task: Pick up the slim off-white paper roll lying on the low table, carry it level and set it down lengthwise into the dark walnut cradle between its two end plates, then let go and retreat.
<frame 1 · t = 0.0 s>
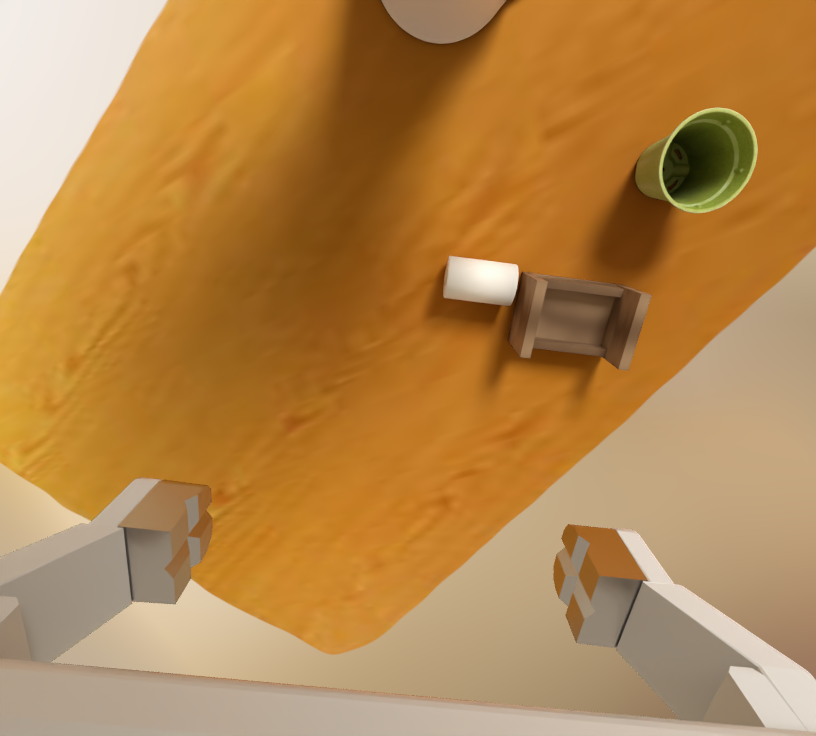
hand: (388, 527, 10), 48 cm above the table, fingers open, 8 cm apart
walnut cradle: (564, 313, 57), on the table
paper roll: (476, 278, 56), on the table
plant pot: (660, 169, 52), on the table
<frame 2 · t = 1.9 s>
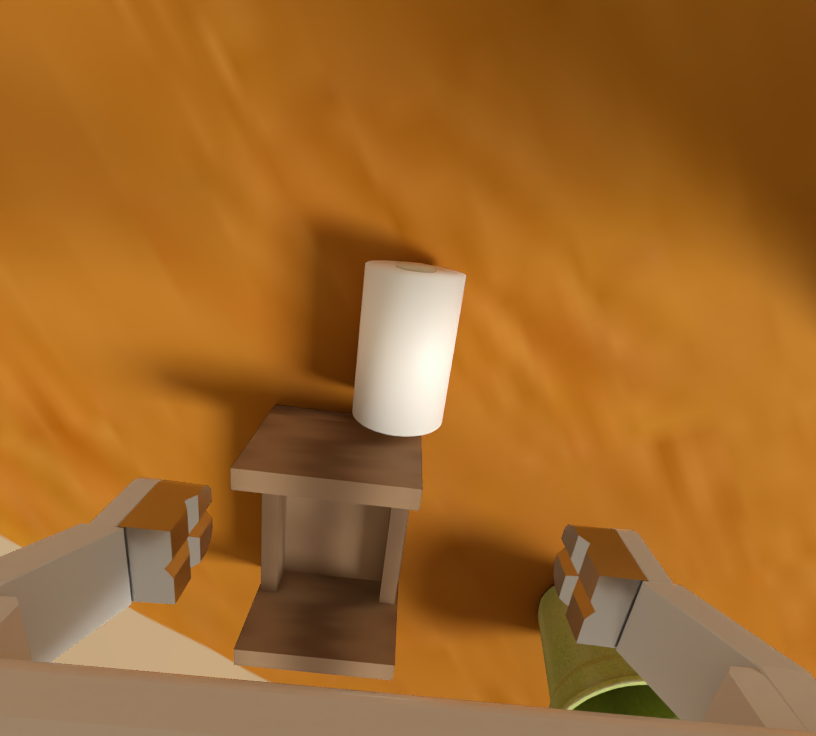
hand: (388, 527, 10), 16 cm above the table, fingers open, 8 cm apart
walnut cradle: (340, 500, 30), on the table
paper roll: (407, 332, 26), on the table
plant pot: (578, 604, 33), on the table
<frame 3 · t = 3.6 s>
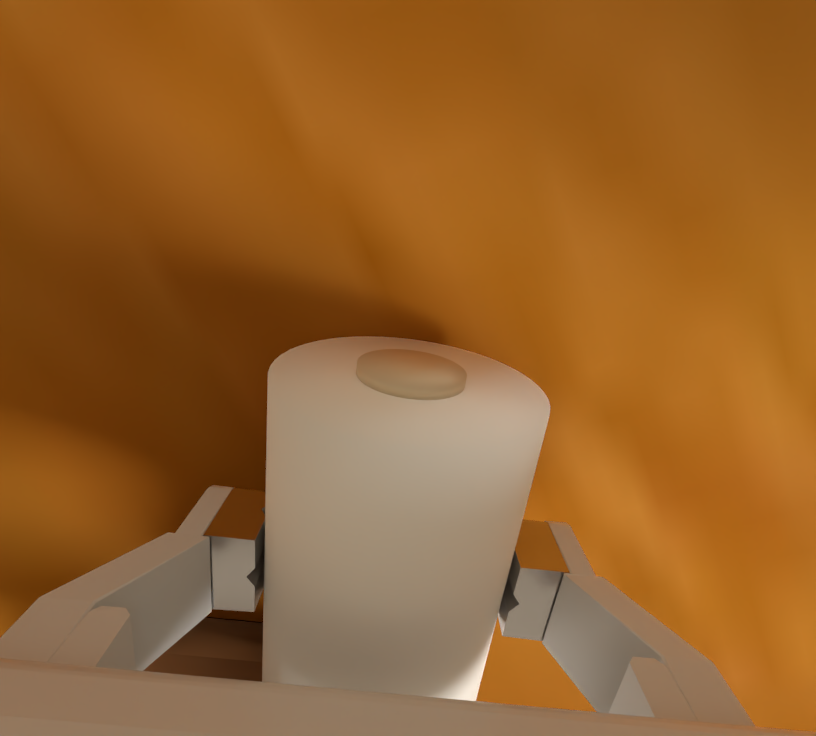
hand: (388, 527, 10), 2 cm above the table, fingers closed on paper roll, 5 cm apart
paper roll: (392, 482, 12), on the table, touching gripper
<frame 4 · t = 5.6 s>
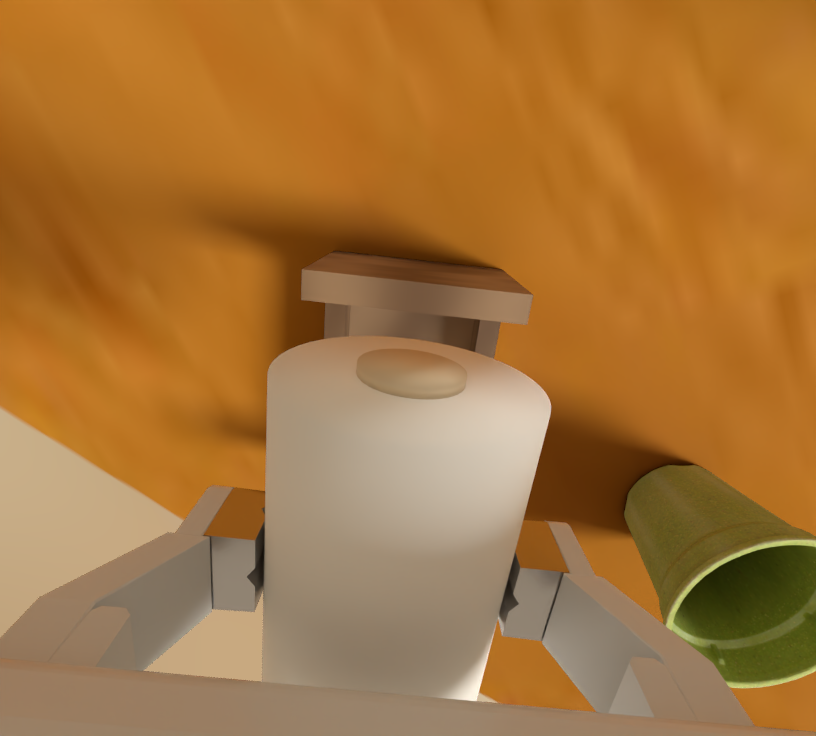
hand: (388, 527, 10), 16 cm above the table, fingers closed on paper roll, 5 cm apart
walnut cradle: (405, 372, 26), on the table
paper roll: (392, 482, 12), point 14 cm above the table, touching gripper
plant pot: (669, 500, 29), on the table
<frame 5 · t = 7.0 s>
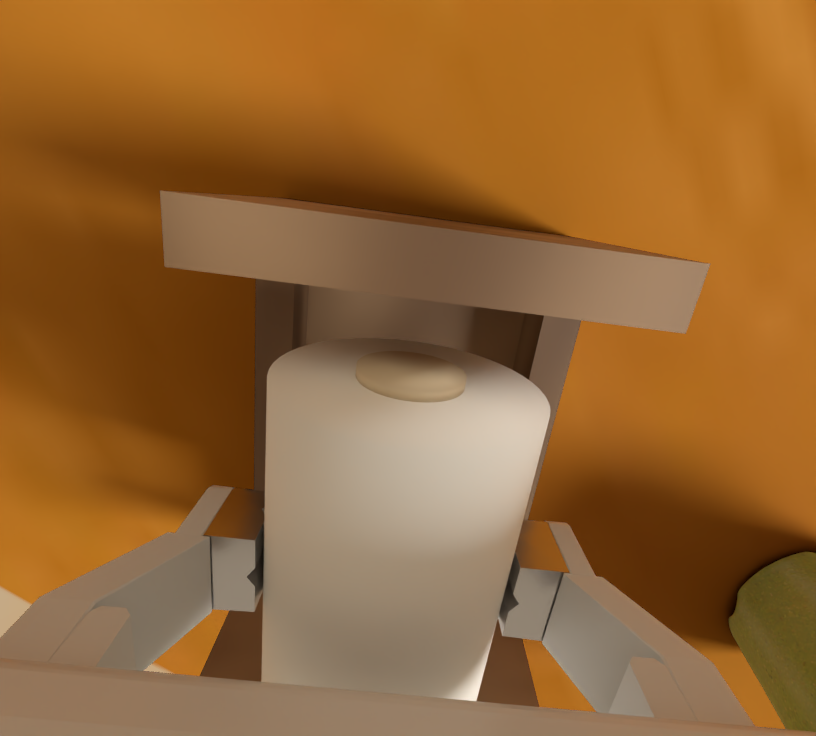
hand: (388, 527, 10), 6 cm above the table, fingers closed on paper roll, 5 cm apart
walnut cradle: (402, 406, 16), on the table
paper roll: (392, 484, 12), point 5 cm above the table, touching gripper
plant pot: (795, 599, 19), on the table
when the fingers open (4 cm above the table, at t = 7.7 s): paper roll drops 1 cm, resting on walnut cradle.
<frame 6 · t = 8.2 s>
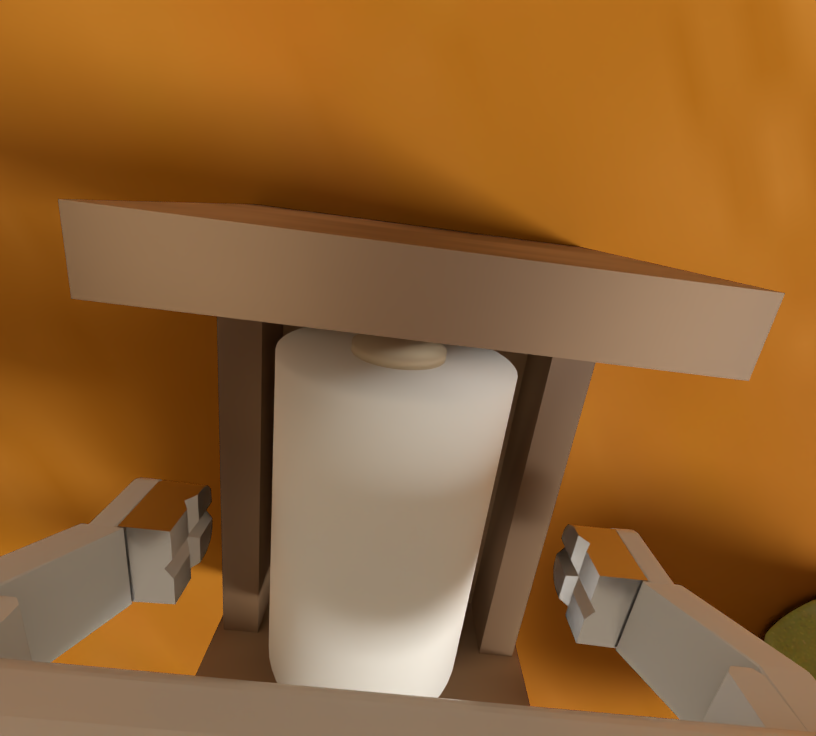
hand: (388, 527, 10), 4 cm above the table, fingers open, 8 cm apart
walnut cradle: (393, 437, 14), on the table
paper roll: (395, 456, 13), point 1 cm above the table, tilted 7°, touching walnut cradle
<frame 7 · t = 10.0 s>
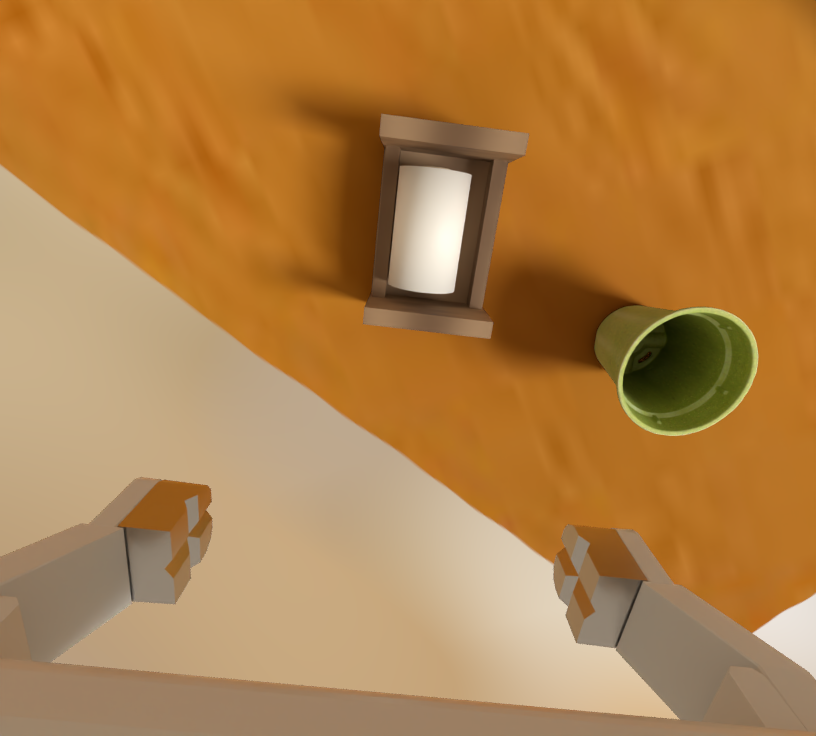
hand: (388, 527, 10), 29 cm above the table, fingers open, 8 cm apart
walnut cradle: (434, 230, 35), on the table
paper roll: (436, 231, 34), point 1 cm above the table, tilted 18°, touching walnut cradle
plant pot: (627, 339, 39), on the table
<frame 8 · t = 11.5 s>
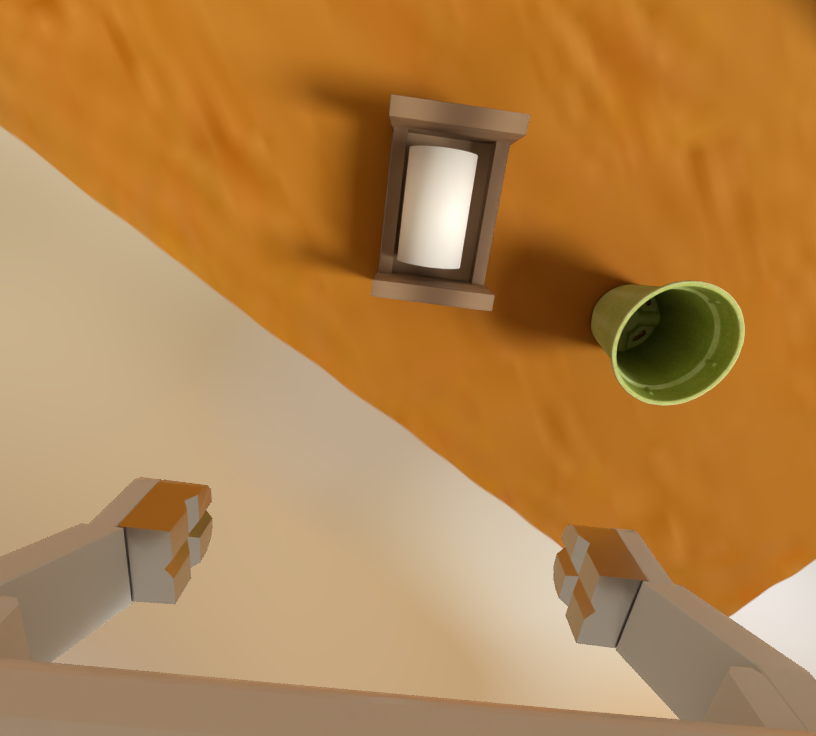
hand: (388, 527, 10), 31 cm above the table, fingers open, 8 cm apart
walnut cradle: (439, 210, 37), on the table
paper roll: (441, 210, 36), point 1 cm above the table, tilted 14°, touching walnut cradle
plant pot: (623, 317, 40), on the table
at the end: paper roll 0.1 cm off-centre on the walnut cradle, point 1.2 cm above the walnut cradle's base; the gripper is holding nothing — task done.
